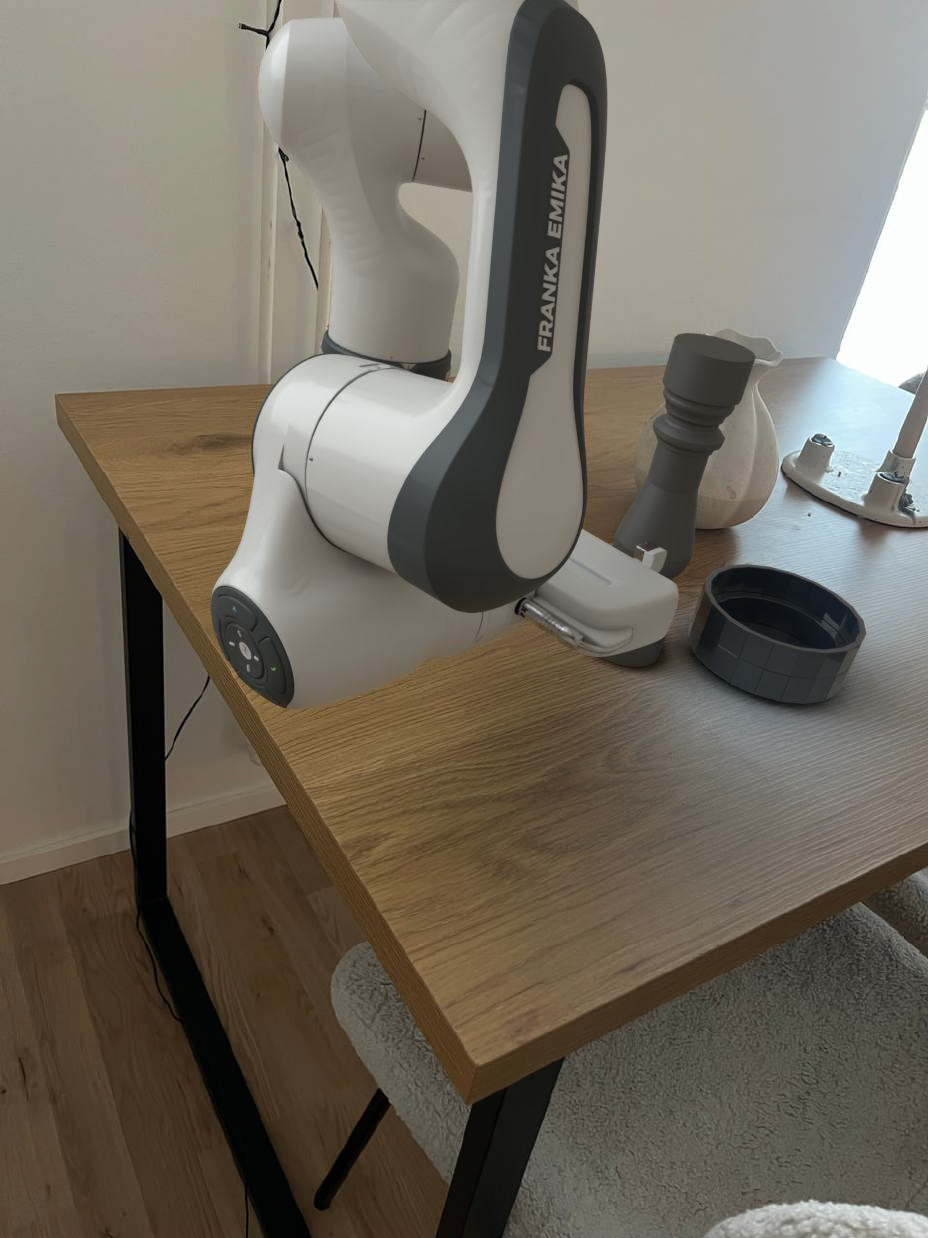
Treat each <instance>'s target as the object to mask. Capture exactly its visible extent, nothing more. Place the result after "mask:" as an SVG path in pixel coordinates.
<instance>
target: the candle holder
mask: <svg viewBox="0 0 928 1238" xmlns="http://www.w3.org/2000/svg"><path fill="white" fill-rule="evenodd" d="M756 358H757V356H756V354H755V353H754V352H753V351H752V350H751V349H749V348H747V347H745V346H744V345H742V344H739V343H738V342H737V343H736V342H735V341H731V340H728V339H725V338H721V337H718V336H715V335H708V334H704V333H694V332H684V333H678V334H676V336H675V337H674V338H673V342H672V346H671V349H670V351H669V356H668V359H667V362H666V365H665V368H664V369H665V370H664V373H663V377H662V379H661V381H662V382H661V383H662V384H663V386H664V388H663V390H662V395H663V398H664V402H665V403H664V408H665V410H666V413H663V414H661V415H658V416H657V417H656V418H655V419H654V420H653V423H652V430H653V432H654V435H655V436H656V438H655V439H656V441H657V442H656V446H655V449H654V453H653V456H652V460H651V462H650V467H649V469H648V472H647V473H648V474H647V476H646V478H645V480H644V482H643V483H642V485H641V487H640V488H639V490H638V492H637V494H636V496H635V497H634V498H633V501H632V503H631V504H630V506H629V508H628V510H627V511H626V513H625V515H624V517H623V518H622V520H621V521H620V523H619V525H618V527H617V529H616V530H615V532H614V536H613V538H612V539H613V541H612V543H613V547H614V548H616V549H618V550H620V551H621V552H623V553H625V554H626V555H628V556H630V557H632V558H634V551H635V548H636V546H637V545H639V544H642V543H643V544H645V543H646V542H647V541H649V542H651V543H653V544H655V545H657V546H659V547H660V548H662V549H664V550H666V551H667V556H666V559H665V562H664V565H663V568H662V569H661V571H660V572H659V574H661V575H662V576H664V577H666V578H668V579H669V580H671V581H673V582H674V578H677V577H679V576H680V575H681V574H682V573H683V572H684V571H685V570H686V568H687V567H688V566H689V564H690V562H691V560H692V558H693V555H694V552H695V539H696V526H697V524H696V523H697V513H698V512H697V511H698V499H699V489H700V486H701V482H702V479H703V476H704V473H705V470H706V468H707V464H708V461H709V458H710V456H712V455H713V453H714V452H715V451H719V450H721V448H722V446H723V444H724V443H725V440H726V437H725V435H724V433H723V431H722V430H721V428H719V427H720V426H721V425H723V423H724V422H725V421H726V419H727V418H728V417H729V416H731V415H732V414H733V412H734V411H735V408H736V406H738V405H740V403H741V402H742V400H743V397H744V394H745V391H746V388H747V385H748V382H749V379H750V376H751V373H752V370H753V367H754V365H755V362H756ZM666 637H667V634H666V635H665V636H664V637H663V638H662V639H660V640H658V641H656V642H654V643H651V644H649V645H646V646H643V647H640V648H637V649H634V650H631V651H628V652H624V653H620V654H617V655H612V656H605V657H601V658H602V659H603V660H604V661H607V662H610V663H613V664H615V665H618V666H621V667H622V666H624V667H630V668H641V667H648V666H650V665H652V664H654V663H656V662H657V660H658V659H659V656H660V654H661V651H662V648H663V645H664V642H665V640H666Z"/></svg>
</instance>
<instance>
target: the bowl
mask: <svg viewBox="0 0 928 1238" xmlns="http://www.w3.org/2000/svg"><path fill="white" fill-rule="evenodd" d="M702 585H703V586H702V588H701V591H700V595H699V597H698V600H697V603H696V606H695V608H694V610H693V614H692V617H691V620H690V623H689V625H688V631H687V642H688V644H689V646H690V648H691V649H692V652H693V655H695V657H696V658H697V659H698V660H699V661H700V662H701V663H702V664H703V665H704V667H706V668H707V669H708V670H709V671H711V672H712V673H714V674H715V675H717V676H718V677H719V678H721V679H722V680H724V681H725V682H727V683H729V684H730V685H732V686H734V687H736V688H737V689H740V690H742V691H744V692H747V693H749V694H752V695H754V696H758V697H760V698H764V699H768V700H771V701H777V702H781V703H791V704H801V705H806V704H813V703H820V702H825V701H827V700H829V699H831V698H833V697H834V696H836V695H838V694H839V693H840V692H841V689H842V687H843V686H844V683H845V681H846V679H847V677H848V675H849V672H850V671H851V668H852V666H853V665H854V662H855V659H856V658H857V656H858V653H859V651H860V649H861V647H862V645H863V643H864V640H865V638H866V636H867V630H866V624H865V620H864V619H863V618H862V617H861V615H860V614H859V612H858V611H857V610H856V609H855V607H854V606H853V605H852V604H850V603H849V602H848V601H847V600H846V599H844V598H843V597H842V596H841V595H839V594H838V593H836V592H835V591H833V590H832V589H830V588H828V587H826V586H824V585H822V584H820V583H819V582H817V581H815V580H813V579H810V578H808V577H805V576H803V575H800V574H798V573H795V572H793V571H788V570H784V569H781V568H776V567H772V566H769V565H768V566H767V565H760V564H750V563H742V564H741V563H740V564H728V565H724V566H722V567H719V568H717V569H714V570H712V572H710V574H709V575H708V576H707V577H706V578H705V580H704V583H703V584H702Z"/></svg>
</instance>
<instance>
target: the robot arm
mask: <svg viewBox="0 0 928 1238" xmlns="http://www.w3.org/2000/svg"><path fill="white" fill-rule="evenodd" d="M334 2H335V5H336V8H337V10H338V14H339V15H340V17H310V18H292V19H290V20H289V21H287V22H286V23H285V24H284V25H282V27H281V28H279V29H278V31H277V32H275V34H274V35H273V37H272V38H271V40H270V41H269V43H268V45H267V47H266V49H265V51H264V54H263V56H262V60H261V62H260V66H259V72H258V80H257V93H258V95H257V96H258V102H259V103H258V104H259V108H260V112H261V116H262V119H263V121H264V124H265V126H266V128H267V130H268V133H269V134H270V135H271V138H272V139H273V141H274V142H275V144H276V145H277V146H278V147H279V149H280V151H282V152H283V153H284V154H285V155H286V156H287V157H288V158H289V159H290V160H291V161H292V162H293V163H294V164H295V166H296V167H297V168H298V169H299V170H300V172H301V173H302V174H303V176H304V177H305V179H306V180H307V182H308V183H309V185H310V187H311V189H313V190H312V191H314V193H315V196H316V198H317V200H318V201H319V205H320V206H321V208H322V211H323V214H324V216H325V220H326V223H327V228H328V232H329V238H330V245H331V264H332V266H331V268H332V269H331V270H332V271H331V272H332V273H331V299H330V310H329V311H330V313H329V322H328V324H327V325H326V328H327V329H326V330H325V331H324V333H323V337H322V340H321V341H320V343H319V348H318V354H315V355H312V356H309V357H307V358H305V359H303V360H301V361H299V362H298V363H296V364H295V365H293V366H292V367H291V368H289V369H288V370H287V371H286V372H285V373H283V374H282V376H281V377H279V378H278V380H277V381H276V382H275V383H274V384H273V385H272V386H271V388H270V390H268V392H267V394H266V395H265V397H264V400H263V401H262V403H261V404H260V407H259V409H258V411H257V415H256V417H255V421H254V424H253V428H252V433H251V443H250V451H251V452H250V456H251V466H252V475H253V485H252V490H251V497H250V502H249V507H248V512H247V516H246V521H245V525H244V528H243V533H242V536H241V539H240V542H239V545H238V547H237V550H236V552H235V553H234V556H233V558H232V559H231V560H230V562H229V564H228V565H227V566H226V568H225V569H224V571H223V572H222V573H221V574H220V576H219V577H218V579H217V581H216V582H215V584H214V586H213V589H212V591H211V597H210V614H211V621H212V627H213V631H214V632H213V633H214V636H215V639H216V640H217V643H218V646H219V648H220V650H221V653H222V654H223V656H224V658H225V660H226V661H227V662H228V663H229V664H230V666H231V668H232V669H233V671H234V672H235V673H236V676H237V677H238V678H239V679H240V680H241V681H242V682H243V683H244V684H245V685H246V686H248V688H250V689H251V690H252V691H254V692H255V693H256V694H258V695H259V696H261V697H262V698H264V699H265V700H266V701H268V702H270V703H272V704H273V705H276V706H278V707H280V708H283V709H285V710H307V709H314V708H321V707H325V706H329V705H333V704H337V703H340V702H344V701H347V700H350V699H353V698H356V697H358V696H361V695H364V694H367V693H370V692H372V691H375V690H377V689H380V688H383V687H385V686H388V685H390V684H392V683H395V682H397V681H399V680H401V679H404V678H405V677H407V676H409V675H411V674H412V673H413V672H415V671H416V670H417V669H418V668H419V667H420V666H421V665H422V664H424V662H427V661H431V660H434V661H435V660H436V661H437V660H446V659H448V658H454V657H456V656H458V655H461V654H463V653H466V652H468V651H471V650H473V649H475V648H478V647H480V646H483V645H484V644H487V643H489V642H492V641H494V640H496V639H499V638H501V637H503V636H506V635H508V634H511V633H513V632H514V631H515V630H517V629H518V628H520V626H521V625H523V623H524V622H525V621H527V622H529V623H530V624H532V625H533V626H535V627H536V628H538V629H540V630H542V631H544V632H545V633H546V634H548V635H549V636H551V637H552V638H554V639H555V640H556V641H557V642H559V643H560V644H561V645H563V646H564V647H566V648H568V649H570V650H572V651H574V652H576V653H578V654H581V655H584V656H587V657H593V658H602V657H605V656H612V655H617V654H620V653H624V652H628V651H631V650H634V649H637V648H640V647H643V646H646V645H649V644H651V643H654V642H656V641H658V640H660V639H662V638H663V637H664V636H665V635H666V636H667V634H668V632H669V630H670V628H671V627H672V624H673V622H674V618H675V616H676V613H677V610H678V605H679V601H680V595H679V588H678V587H679V586H678V585H677V584H676V583H675V582H674V580H673V581H671V580H669V579H668V578H666V577H664V576H662V575H661V574H659V572H660V571H661V569H662V568H663V565H664V562H665V559H666V556H667V551H666V550H664V549H662V548H660V547H659V546H657V545H655V544H653V543H651V542H649V541H647V542H646V543H645V544H643V543H642V544H639V545H637V546H636V548H635V551H634V558H632V557H630V556H628V555H626V554H625V553H623V552H621V551H620V550H618V549H616V548H614V545H613V546H612V545H611V544H610V543H608V542H606V541H604V540H602V539H601V538H600V537H598V536H596V535H594V534H592V533H590V532H589V531H587V530H585V529H584V528H583V527H584V523H585V522H584V521H585V518H586V512H587V505H588V504H587V503H588V463H587V462H588V461H587V449H586V440H585V439H586V437H585V435H586V434H585V414H584V413H585V412H584V411H585V410H584V407H585V388H586V376H587V366H588V365H587V364H588V363H587V362H588V356H589V355H588V354H589V345H590V344H589V342H590V331H591V321H592V310H593V301H594V289H595V278H596V269H597V268H596V267H597V257H598V246H599V237H600V236H599V235H600V225H601V214H602V201H603V192H604V190H603V189H604V180H605V179H604V178H605V164H606V154H607V153H606V151H607V150H606V149H607V135H608V133H607V132H608V78H607V77H608V76H607V68H606V67H607V66H606V61H605V56H604V52H603V48H602V44H601V42H600V39H599V36H598V33H597V32H596V30H595V28H594V26H593V25H592V24H591V22H590V21H589V20H588V18H586V17H585V16H584V15H583V14H582V13H581V12H580V9H579V2H578V0H334ZM411 183H412V184H419V185H426V186H432V187H437V188H443V189H448V190H453V191H454V190H455V191H461V192H466V193H471V194H472V211H471V225H470V239H469V252H468V264H467V265H468V266H467V277H466V278H467V279H466V289H465V291H466V293H465V305H464V318H463V319H464V320H463V330H462V344H461V346H462V347H461V355H460V356H461V357H460V364H459V369H458V372H457V375H456V377H455V379H454V380H453V382H451V381H450V382H449V379H450V376H451V373H452V351H451V349H450V348H449V347H450V341H451V336H452V330H453V325H454V324H453V323H454V317H455V312H456V307H457V300H458V294H459V287H460V282H461V273H460V267H459V264H458V261H457V258H456V256H455V254H454V253H453V250H452V249H451V248H450V247H449V246H448V245H447V244H446V243H445V242H444V241H443V240H442V239H441V237H439V236H438V235H437V234H435V233H434V232H433V231H431V230H430V229H428V228H427V227H426V226H424V225H423V224H422V223H421V222H419V221H418V220H416V219H415V218H413V217H412V216H411V215H410V214H409V213H408V212H407V211H406V210H405V209H404V207H403V206H402V203H401V201H400V199H399V191H400V189H401V186H402V185H404V184H411ZM666 636H665V637H666Z"/></svg>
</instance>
